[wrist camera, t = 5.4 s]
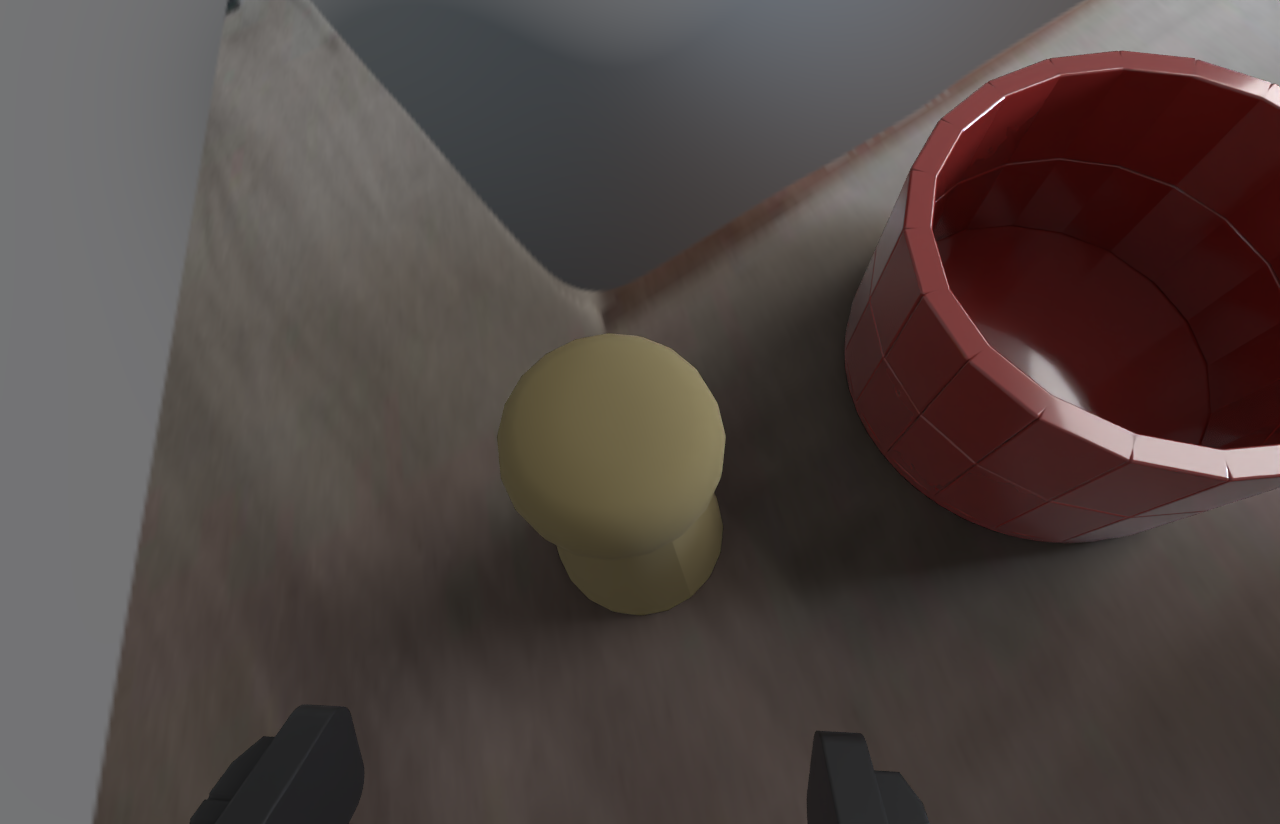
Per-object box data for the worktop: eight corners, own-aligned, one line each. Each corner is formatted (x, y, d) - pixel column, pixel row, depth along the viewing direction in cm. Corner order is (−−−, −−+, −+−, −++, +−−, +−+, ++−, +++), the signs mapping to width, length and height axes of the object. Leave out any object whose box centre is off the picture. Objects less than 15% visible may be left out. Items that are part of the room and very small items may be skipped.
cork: (537, 479, 25) (431, 341, 14) (688, 427, 25) (689, 257, 15) (583, 640, 22) (497, 610, 12) (749, 580, 23) (799, 503, 13)
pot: (1070, 176, 28) (1206, -3, 21) (1309, 452, 23) (1602, 346, 16) (783, 290, 27) (818, 144, 20) (969, 607, 22) (1111, 571, 15)
